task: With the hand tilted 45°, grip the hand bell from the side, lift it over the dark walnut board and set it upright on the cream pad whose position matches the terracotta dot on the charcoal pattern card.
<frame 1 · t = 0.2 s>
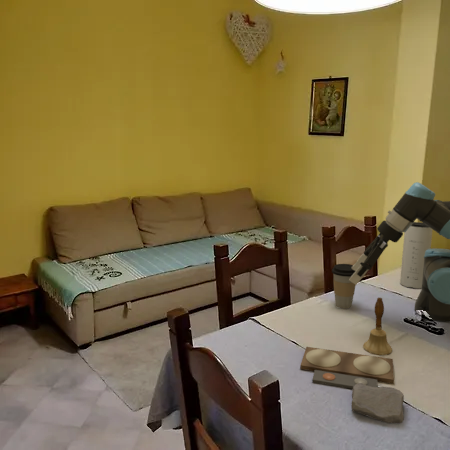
hand: (353, 276, 151), 15 cm above the table, tool tilted 35°, fingers open, 13 cm apart
layout board: (346, 365, 124), on the table
coffee cup: (343, 306, 165), on the table
stone block: (376, 411, 105), on the table
white tall cylinder: (413, 285, 186), on the table
hand bell: (377, 349, 134), on the table
pattern card: (344, 382, 116), on the table
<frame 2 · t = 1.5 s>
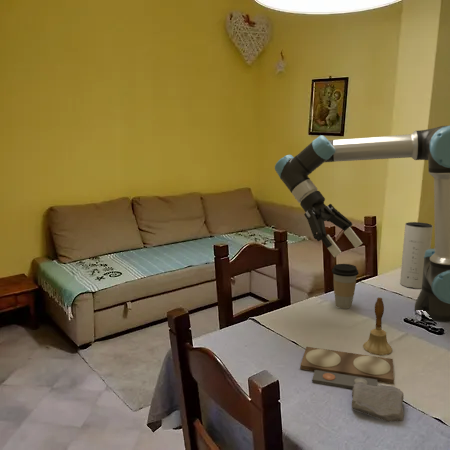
hand: (349, 250, 138), 27 cm above the table, tool tilted 45°, fingers open, 13 cm apart
nothing on the table moved.
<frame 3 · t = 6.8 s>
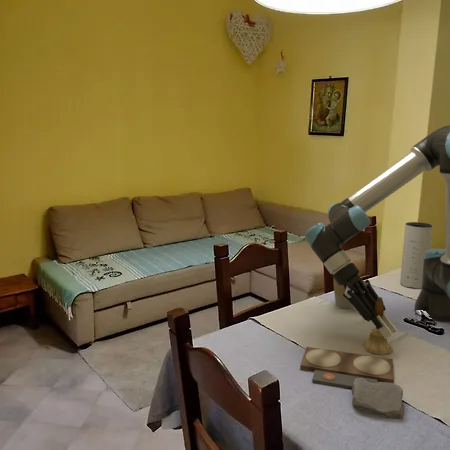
hand: (391, 334, 130), 6 cm above the table, tool tilted 45°, fingers closed on hand bell, 2 cm apart
stone block: (377, 406, 107), on the table
hand bell: (377, 348, 134), on the table, touching gripper
everything else where it was.
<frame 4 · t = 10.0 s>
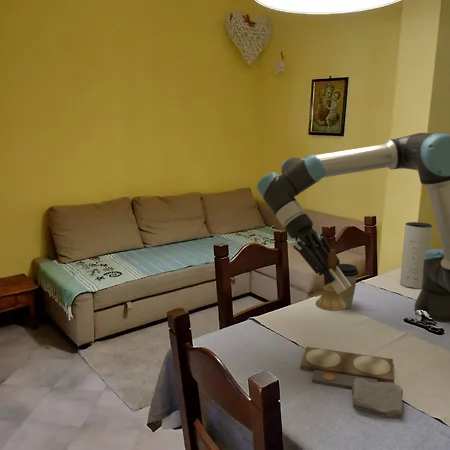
hand: (344, 289, 120), 22 cm above the table, tool tilted 45°, fingers closed on hand bell, 2 cm apart
hand bell: (330, 305, 124), point 16 cm above the table, touching gripper
everything else where it was.
when the fingers open (9 cm above the table, at t = 13.5 s): hand bell drops 1 cm, resting on layout board.
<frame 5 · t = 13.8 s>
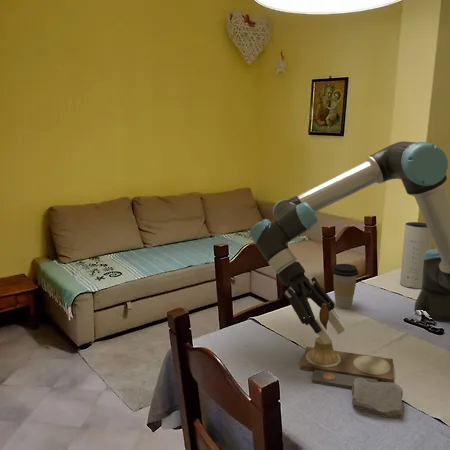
hand: (335, 336, 122), 9 cm above the table, tool tilted 45°, fingers open, 7 cm apart
hand bell: (323, 357, 126), point 1 cm above the table, touching layout board
everything else where it was.
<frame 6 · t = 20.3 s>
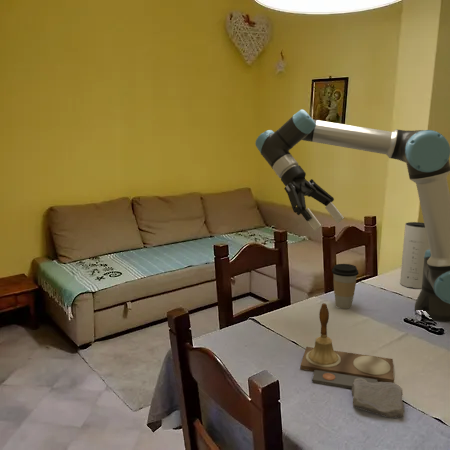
hand: (329, 224, 136), 36 cm above the table, tool tilted 45°, fingers open, 13 cm apart
nothing on the table moved.
at the end: hand bell 0.2 cm from the target spot on the layout board, point 1.3 cm above the layout board's base; hand bell tilted 0°; the gripper is holding nothing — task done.
